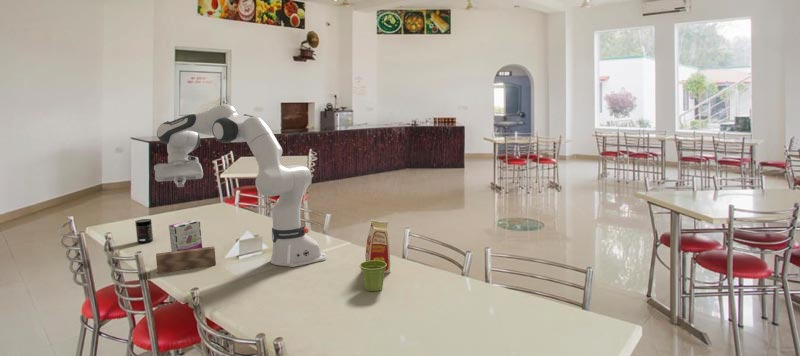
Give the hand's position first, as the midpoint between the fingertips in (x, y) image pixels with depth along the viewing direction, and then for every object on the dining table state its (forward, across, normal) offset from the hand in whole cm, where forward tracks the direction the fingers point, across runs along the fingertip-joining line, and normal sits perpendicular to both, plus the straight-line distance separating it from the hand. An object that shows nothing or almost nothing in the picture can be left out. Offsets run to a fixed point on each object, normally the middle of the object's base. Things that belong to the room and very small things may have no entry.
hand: (180, 186), depth 218 cm
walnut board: (+45, 0, -6) cm, 46 cm away
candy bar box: (+39, 0, 0) cm, 39 cm away
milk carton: (+71, +67, -32) cm, 102 cm away
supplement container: (+10, -17, +29) cm, 35 cm away
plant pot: (+83, +58, -44) cm, 110 cm away
